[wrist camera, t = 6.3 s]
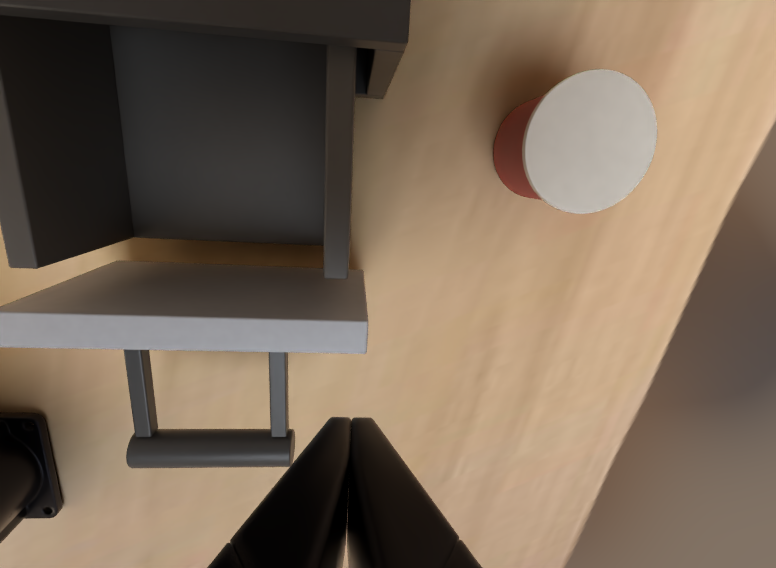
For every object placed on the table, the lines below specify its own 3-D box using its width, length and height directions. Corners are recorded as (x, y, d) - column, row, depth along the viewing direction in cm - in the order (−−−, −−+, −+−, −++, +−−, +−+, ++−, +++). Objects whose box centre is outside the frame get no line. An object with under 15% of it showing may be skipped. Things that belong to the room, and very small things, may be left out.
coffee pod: (579, 206, 20) (639, 217, 16) (480, 200, 20) (515, 210, 16) (600, 95, 19) (672, 75, 15) (494, 86, 18) (537, 62, 14)
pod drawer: (358, 394, 21) (359, 493, 15) (133, 392, 20) (30, 498, 14) (376, -27, 16) (392, -158, 10) (73, -60, 15) (-143, -234, 8)
